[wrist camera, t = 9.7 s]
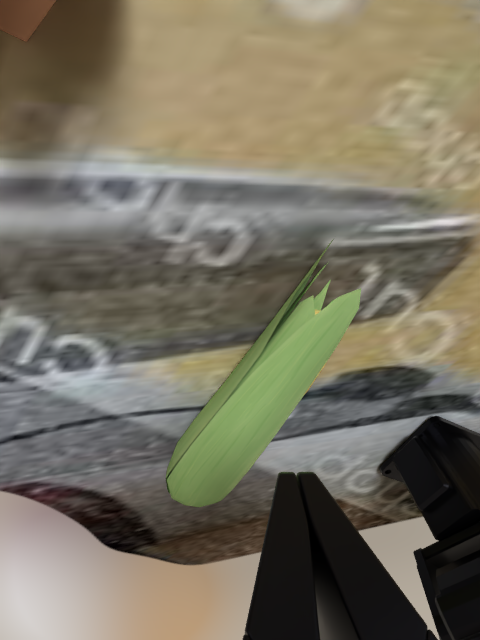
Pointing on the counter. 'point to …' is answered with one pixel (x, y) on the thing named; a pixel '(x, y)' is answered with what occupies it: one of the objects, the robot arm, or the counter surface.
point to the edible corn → (258, 396)
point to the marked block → (23, 16)
